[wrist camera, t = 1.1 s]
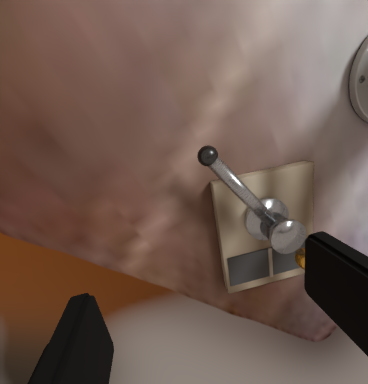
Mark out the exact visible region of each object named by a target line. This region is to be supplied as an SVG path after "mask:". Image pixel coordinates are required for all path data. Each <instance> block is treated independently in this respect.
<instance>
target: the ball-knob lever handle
mask: <svg viewBox="0 0 368 384" xmlns="http://www.w3.org/2000/svg"><path fill="white" fill-rule="evenodd" d="M198 161H199V162H200V163H201V164H202V165H204V166H208V168H209V169H210V170H211V171H212V172H213V173H214V174H215V175H216V176H217V177H218V178H219V179H220V180H221V181H222V182H223V183H224V184H225V185H226V186H227V187H228V188H229V189H230V190H231V191H232V192H233V193H234V194H235V195H236V196H237V197H238V198H239V199H240V200H241V201H242V202H243V203H244V204H245V205H246V206H247V207H248V210H247V212H246V214H245V218H244V224H245V228H246V230H247V231H248V232H249V233H250V234H251V236H253V237H254V238H256V239H258V240H269V243H270V245H271V247H272V248H273V249H274V250H275V251H277V252H278V253H281V254H289V253H292V252H294V251H295V252H296V253H295V262H296V264H297V265H298V266H299V267H300V268H302V269H304V270H305V248H301V245H302V244H303V242H304V240H305V238H306V229H305V227H304V225H303V224H302V223H300V222H298V221H297V220H295V219H289V211H288V208H287V206H286V205H285V204H284V203H283V202H281V201H280V200H278V199H276V198H273V197H265V198H261V199H258V198H257V197H256V196H255V195H254V194H253V192H252V191H251V190H250V189H249V188H248V187H247V186H246V185H245V184H244V183H243V182H242V181H241V180H240V179H239V178H238V177H237V175H236V174H235V173H234V172H233V171H232V170H231V169H230V168H229V167H228V166H227V165H226V164H225V163H224V162H223V161H222V159H221V158H220V157H219V156H218V152H217V150H216V149H215V148H214V147H212V146H204V147H202V148H201V149H200V150H199V152H198Z"/></svg>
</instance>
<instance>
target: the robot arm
mask: <svg viewBox="0 0 368 384" xmlns="http://www.w3.org/2000/svg"><path fill="white" fill-rule="evenodd" d="M349 90H350V98H351V102H352V105H353V107H354V109H355V111H356V113H357V114H358V115H359V117H361V118H362V119H363V120H364V121H366V122H368V37H367V39H366V40H365V41H364V42H363V44H362V46H361V48H360V49H359V51H358V53H357V55H356V58H355V60H354V63H353V66H352V70H351V74H350V82H349ZM305 290H306V292H307V294H308V295H309V296H310V297H311V298H312V299H313V300H314V301H315V302H316V303H317V304H318V306H319V307H320V308H321V309H322V310H323V311H324V312H325V313H326V314H327V315H328V316H329V317H330V318H331V319H332V320H333V321H334V322H335V323H336V324H337V325H338V326H339V327H340V328H341V329H342V330H343V331H344V332H345V333H346V334H347V335H348V336H349V337H350V338H351V339H352V340H353V341H354V343H356V345H357V346H358V347H359V348H360V349H361V350H362V351H363V352H364V353H365V354H366V355H367V356H368V257H367V256H366V255H364V254H362V253H360V252H359V251H357V250H355V249H353V248H352V247H350V246H348V245H347V244H345V243H343V242H341V241H340V240H338V239H336V238H334V237H333V236H331V235H329V234H327V233H326V232H317V233H313V234H310V235H308V237H307V239H306V240H305ZM113 353H114V346H113V342H112V340H111V337H110V334H109V332H108V329H107V327H106V324H105V322H104V320H103V317H102V314H101V312H100V310H99V307H98V305H97V302H96V300H95V297H94V296H90V295H89V294H88V293H84V294H81V295H77V296H73V297H71V298H70V300H69V302H68V304H67V306H66V308H65V310H64V312H63V315H62V317H61V319H60V321H59V323H58V325H57V327H56V330H55V331H54V334H53V336H52V338H51V340H50V342H49V343H48V344H47V346H46V347H45V349H44V351H43V353H42V355H41V357H40V359H39V361H38V364H37V366H36V367H35V370H34V372H33V374H32V376H31V378H30V380H29V382H28V384H109V378H110V372H111V366H112V359H113Z"/></svg>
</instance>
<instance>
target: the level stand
mask: <svg viewBox="0 0 368 384" xmlns="http://www.w3.org/2000/svg"><path fill="white" fill-rule="evenodd" d="M237 177H238V178H239V179H240V180H241V181H242V182H243V183H244V184H245V185H246V186H247V187H248V188H249V189H250V190H251V191H252V192H253V194H254V195H255V196H256V197H257V198H258V199H261V198H265V197H273V198H276V199H278V200H280V201H281V202H283V203H284V204H285V205H286V206H287V208H288V211H289V219H295V220H297V221H298V222H300V223H302V224H303V225H304V227H305V229H306V238H305V240H306V239H307V237H308V235H310V234H312V221H313V178H314V162H312V161H307V160H305V161H300V162H296V163H291V164H287V165H282V166H278V167H273V168H269V169H264V170H260V171H255V172H251V173H246V174H241V175H237ZM210 187H211V194H212V200H213V207H214V214H215V221H216V228H217V235H218V241H219V248H220V255H221V262H222V269H223V275H224V282H225V288H226V290H227V292H228V294H230V293H234V292H238V291H241V290H245V289H249V288H252V287H256V286H260V285H263V284H267V283H270V282H274V281H278V280H281V279H285V278H289V277H292V276H296V275H300V274H303V273H305V270H304V269H302V268H300V267H299V266H298V265H297V264H296V262H295V253H296V252H295V251H294V252H292V253H289V254H281V253H278V252H277V251H275V250H274V249H273V248H272V247H271V245H270V243H269V240H258V239H256V238H254V237H253V236H251V234H250V233H249V232H248V231H247V230H246V228H245V224H244V218H245V214H246V212H247V210H248V207H247V206H246V205H245V204H244V203H243V202H242V201H241V200H240V199H239V198H238V197H237V196H236V195H235V194H234V193H233V192H232V191H231V190H230V189H229V188H228V187H227V186H226V185H225V184H224V183H223V182H222V181H221V180H220V179H219V180H214V181H210ZM305 240H304V242H303V244H302V245H301V248H305Z"/></svg>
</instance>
